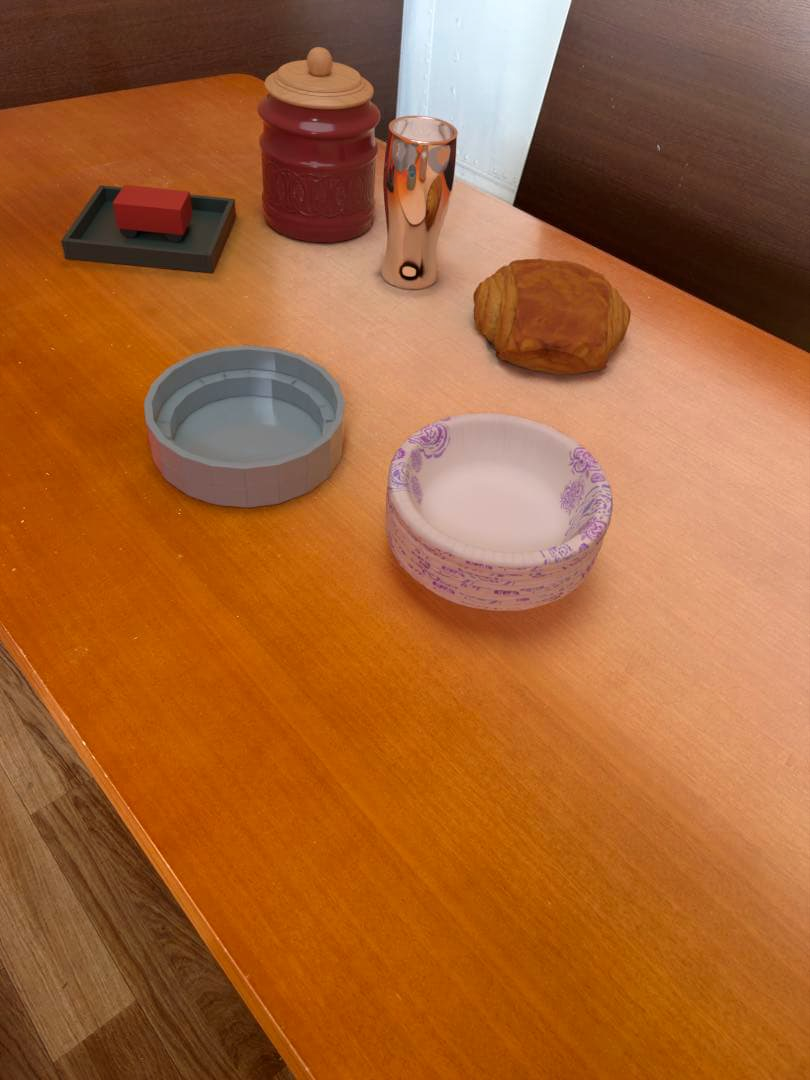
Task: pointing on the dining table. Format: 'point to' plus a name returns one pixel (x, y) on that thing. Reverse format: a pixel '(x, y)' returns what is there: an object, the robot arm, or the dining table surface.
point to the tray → (150, 235)
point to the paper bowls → (496, 511)
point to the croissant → (551, 316)
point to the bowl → (245, 425)
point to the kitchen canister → (318, 150)
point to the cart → (152, 211)
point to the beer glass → (416, 197)
